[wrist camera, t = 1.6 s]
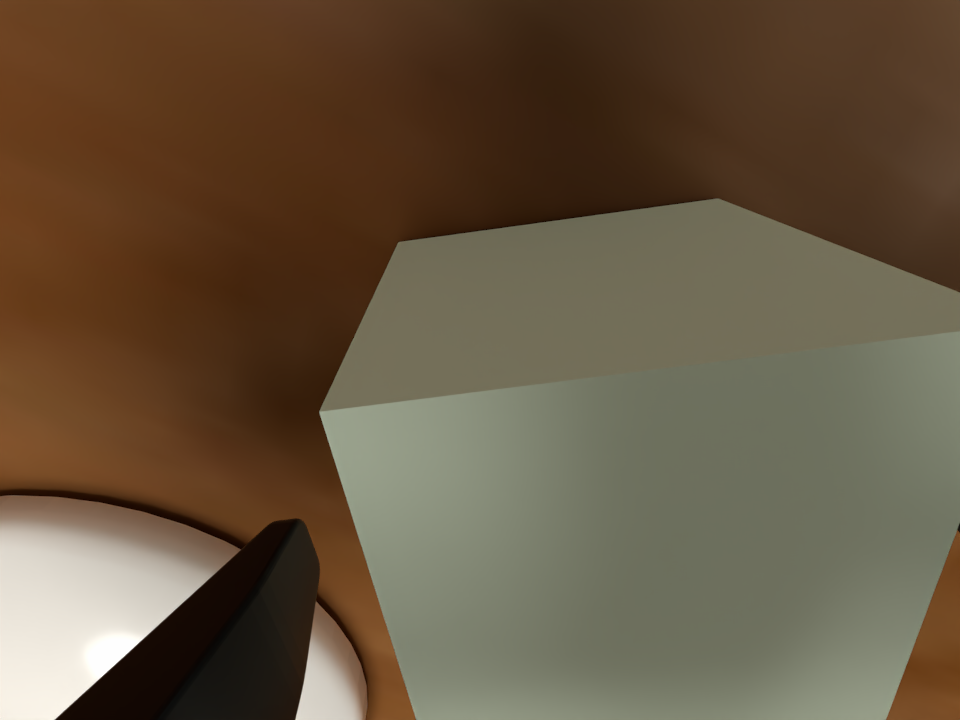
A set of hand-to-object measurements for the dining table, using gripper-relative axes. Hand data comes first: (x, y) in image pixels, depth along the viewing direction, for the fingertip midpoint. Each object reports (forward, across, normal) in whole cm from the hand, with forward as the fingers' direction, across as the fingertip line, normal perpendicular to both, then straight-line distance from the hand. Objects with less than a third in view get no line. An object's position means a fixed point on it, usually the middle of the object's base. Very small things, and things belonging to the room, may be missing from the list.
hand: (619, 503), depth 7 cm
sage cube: (+4, 0, 0) cm, 4 cm away
